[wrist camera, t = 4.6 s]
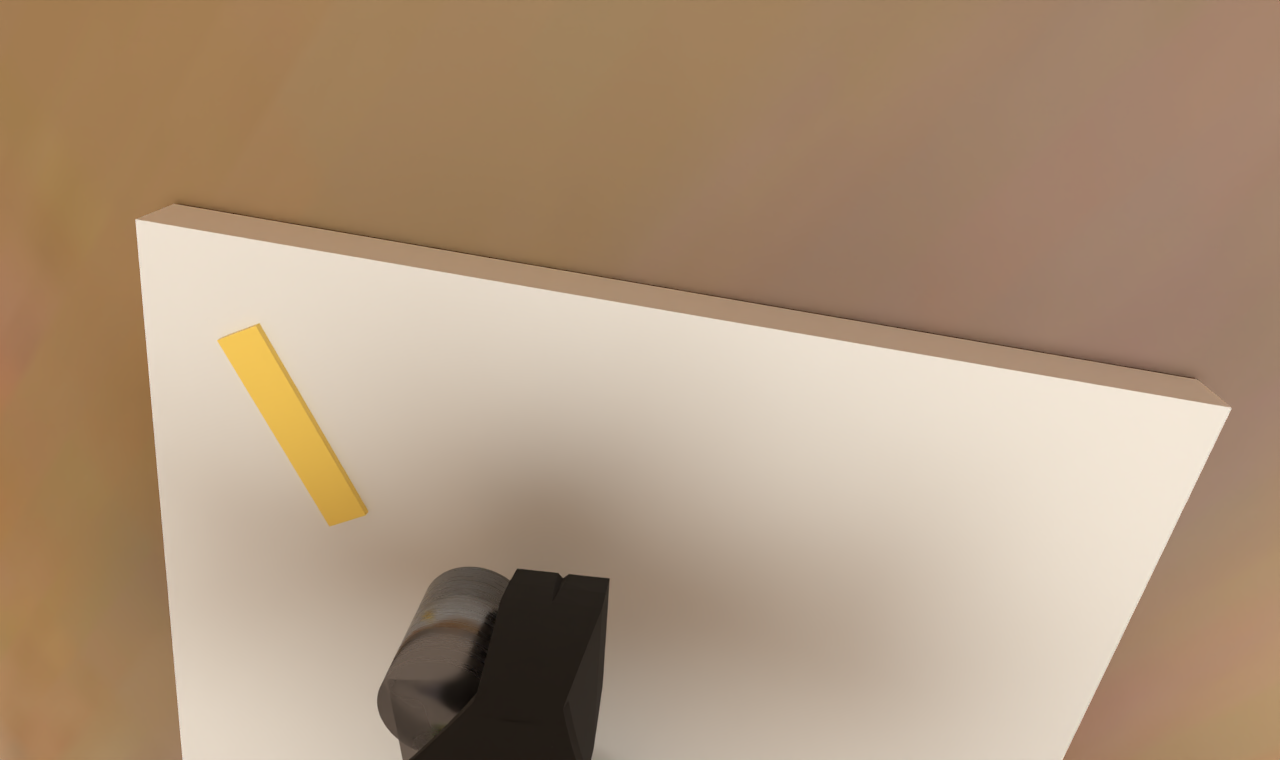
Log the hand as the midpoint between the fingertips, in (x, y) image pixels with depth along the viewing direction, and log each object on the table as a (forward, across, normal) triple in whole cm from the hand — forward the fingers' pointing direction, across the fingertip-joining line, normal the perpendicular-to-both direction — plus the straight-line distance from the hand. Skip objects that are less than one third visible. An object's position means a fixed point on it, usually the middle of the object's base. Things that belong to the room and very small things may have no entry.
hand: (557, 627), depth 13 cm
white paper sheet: (+3, -1, +4) cm, 5 cm away
